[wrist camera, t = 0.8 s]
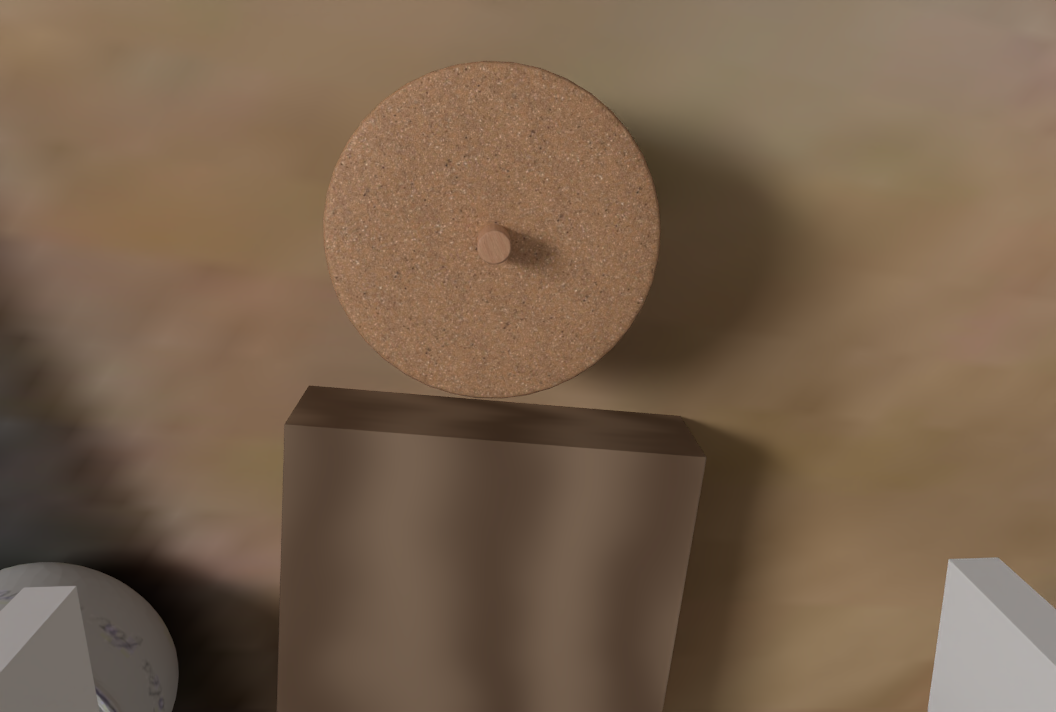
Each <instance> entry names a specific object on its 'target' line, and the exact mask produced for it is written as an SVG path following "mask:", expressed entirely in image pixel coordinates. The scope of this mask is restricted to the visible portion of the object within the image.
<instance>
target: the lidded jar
mask: <svg viewBox="0 0 1056 712" xmlns="http://www.w3.org/2000/svg"><path fill="white" fill-rule="evenodd" d="M323 220H324V248H325V254H326V259H327V265H328V270H329V274H330V277H331V280H332V283H333V286H334V288H335V291H336V294H337V297H338V299H339V301H340V303H341V304H342V306H343V308H344V310H345V312H346V314H347V316H348V318H349V319H350V321H351V322H352V324H353V325H354V326H355V328H356V329H357V330H358V332H359V333H360V334H361V336H362V337H363V338H364V340H365V341H366V342H367V343H368V344H369V345H370V346H371V347H372V348H373V349H374V350H375V351H376V352H377V353H378V354H379V355H380V356H382V357H383V358H384V359H385V360H386V361H388V362H389V363H390V364H392V365H393V366H395V367H396V368H397V369H399V370H400V371H402V372H403V373H404V374H406V375H408V376H410V377H412V378H414V379H416V380H418V381H420V382H422V383H424V384H426V385H428V386H431V387H434V388H437V389H440V390H443V391H446V392H449V393H452V394H458V395H464V396H470V397H475V398H507V397H515V396H523V395H528V394H532V393H536V392H539V391H543V390H546V389H550V388H552V387H554V386H557V385H559V384H561V383H563V382H565V381H568V380H570V379H572V378H574V377H576V376H577V375H579V374H580V373H582V372H583V371H585V370H586V369H588V368H589V367H591V366H593V365H594V364H595V363H596V362H598V361H599V360H600V359H601V358H602V357H603V356H604V355H605V354H607V353H608V352H609V351H610V350H611V349H612V348H613V347H614V346H615V345H616V344H617V343H618V341H619V340H620V339H621V338H622V337H623V335H624V334H625V333H626V332H627V331H628V329H629V328H630V327H631V325H632V323H633V322H634V320H635V318H636V317H637V315H638V313H639V312H640V310H641V308H642V307H643V304H644V302H645V300H646V297H647V295H648V292H649V290H650V288H651V285H652V283H653V279H654V274H655V270H656V266H657V262H658V258H659V247H660V235H661V227H660V213H659V203H658V199H657V195H656V190H655V186H654V182H653V178H652V176H651V173H650V171H649V168H648V166H647V164H646V161H645V159H644V156H643V154H642V152H641V151H640V149H639V147H638V146H637V144H636V142H635V141H634V139H633V137H632V136H631V134H630V133H629V131H628V130H627V129H626V127H625V126H624V125H623V124H622V123H621V122H620V120H619V119H618V118H617V117H616V116H615V115H614V113H613V112H612V111H611V110H610V109H609V108H608V107H606V106H605V105H604V104H603V103H602V102H600V101H599V100H598V99H597V98H596V97H595V96H593V95H592V94H591V93H590V92H588V91H586V90H585V89H583V88H581V87H580V86H578V85H576V84H575V83H573V82H571V81H570V80H568V79H566V78H564V77H561V76H559V75H556V74H554V73H551V72H549V71H546V70H544V69H541V68H537V67H533V66H528V65H523V64H519V63H514V62H496V61H481V62H472V63H464V64H457V65H453V66H450V67H447V68H443V69H440V70H436V71H433V72H430V73H428V74H426V75H424V76H422V77H420V78H418V79H415V80H413V81H411V82H409V83H407V84H405V85H404V86H402V87H401V88H400V89H398V90H397V91H395V92H394V93H393V94H391V95H390V96H388V97H387V98H386V99H384V100H383V101H382V102H381V103H380V104H379V105H378V106H377V107H376V108H375V109H374V110H373V111H372V112H371V113H370V114H369V115H368V116H367V117H366V118H365V119H364V120H363V121H362V122H361V124H360V125H359V127H358V128H357V129H356V131H355V132H354V134H353V135H352V136H351V138H350V139H349V140H348V142H347V144H346V146H345V148H344V150H343V152H342V154H341V156H340V158H339V160H338V162H337V164H336V166H335V169H334V172H333V175H332V179H331V182H330V185H329V188H328V192H327V197H326V205H325V212H324V219H323Z"/></svg>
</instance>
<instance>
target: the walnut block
mask: <svg viewBox="0 0 1056 712" xmlns="http://www.w3.org/2000/svg"><path fill="white" fill-rule="evenodd" d="M706 458H707V457H706V456H705V454H704V453H703V451H702V450H701V448H700V446H699V445H698V443H697V442H696V440H695V439H694V437H693V435H692V434H691V432H690V431H689V429H688V428H687V426H686V424H685V423H684V421H683V420H682V418H681V417H680V416H673V415H661V414H648V413H636V412H624V411H612V410H600V409H587V408H575V407H563V406H551V405H539V404H526V403H514V402H502V401H490V400H478V399H465V398H453V397H441V396H429V395H416V394H404V393H392V392H380V391H368V390H355V389H343V388H331V387H319V386H309V387H308V388H307V390H306V391H305V393H304V394H303V396H302V398H301V399H300V401H299V402H298V404H297V406H296V407H295V409H294V410H293V412H292V413H291V415H290V417H289V418H288V420H287V421H286V423H285V428H284V465H283V501H282V538H281V574H280V611H279V647H278V684H277V712H662V711H663V705H664V700H665V694H666V688H667V682H668V677H669V671H670V665H671V659H672V654H673V648H674V642H675V636H676V631H677V625H678V619H679V613H680V607H681V602H682V596H683V590H684V584H685V579H686V573H687V567H688V561H689V556H690V550H691V544H692V538H693V533H694V527H695V521H696V515H697V510H698V504H699V498H700V492H701V486H702V481H703V475H704V469H705V463H706Z"/></svg>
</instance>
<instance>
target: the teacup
mask: <svg viewBox="0 0 1056 712" xmlns="http://www.w3.org/2000/svg"><path fill="white" fill-rule="evenodd" d="M57 586H76V587H77V593H78V598H79V603H80V609H81V614H82V620H83V625H84V631H85V636H86V641H87V647H88V652H89V658H90V663H91V669H92V674H93V679H94V685H95V690H96V696H97V701H98V707H99V712H172V709H173V706H174V703H175V699H176V694H177V687H178V678H179V670H178V659H177V654H176V649H175V646H174V643H173V640H172V638H171V635H170V633H169V631H168V629H167V627H166V625H165V624H164V622H163V620H162V618H161V617H160V616H159V614H158V613H157V612H156V611H155V610H154V608H153V607H152V606H151V605H150V604H149V603H148V602H147V601H146V600H145V599H144V598H143V597H142V596H140V595H139V594H138V593H137V592H136V591H134V590H133V589H131V588H130V587H129V586H127V585H126V584H124V583H122V582H121V581H119V580H117V579H115V578H113V577H111V576H109V575H107V574H104V573H102V572H100V571H96V570H93V569H90V568H87V567H83V566H79V565H74V564H68V563H59V562H37V563H29V564H21V565H17V566H13V567H9V568H5V569H2V570H0V611H1V610H2V609H3V608H4V607H5V606H6V605H7V604H8V603H9V602H10V601H11V600H12V599H13V598H14V597H15V596H16V595H17V594H18V593H19V592H20V591H21V590H22V589H23V588H25V587H57Z"/></svg>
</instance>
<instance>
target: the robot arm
mask: <svg viewBox="0 0 1056 712" xmlns="http://www.w3.org/2000/svg"><path fill="white" fill-rule="evenodd" d="M0 712H99V707H98V701H97V696H96V690H95V685H94V679H93V674H92V669H91V663H90V658H89V652H88V647H87V641H86V636H85V631H84V625H83V620H82V614H81V609H80V603H79V598H78V593H77V587H76V586H57V587H25V588H23V589H22V590H21V591H20V592H19V593H18V594H17V595H16V596H15V597H14V598H13V599H12V600H11V601H10V602H9V603H8V604H7V605H6V606H5V607H4V608H3V609H2V610H1V611H0ZM928 712H1056V609H1055V608H1054V607H1053V606H1051V605H1050V604H1049V603H1048V602H1047V601H1046V600H1045V599H1044V598H1043V597H1041V596H1040V595H1039V594H1038V593H1037V592H1036V591H1035V590H1034V589H1033V588H1031V587H1030V586H1029V585H1028V584H1027V583H1026V582H1025V581H1024V580H1023V579H1021V578H1020V577H1019V576H1018V575H1017V574H1016V573H1015V572H1014V571H1013V570H1011V569H1010V568H1009V567H1008V566H1007V565H1006V564H1005V563H1004V562H1002V561H1001V560H1000V559H999V558H968V559H949V561H948V569H947V576H946V583H945V590H944V597H943V604H942V612H941V619H940V626H939V633H938V640H937V647H936V655H935V662H934V669H933V676H932V683H931V690H930V698H929V705H928Z"/></svg>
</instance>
